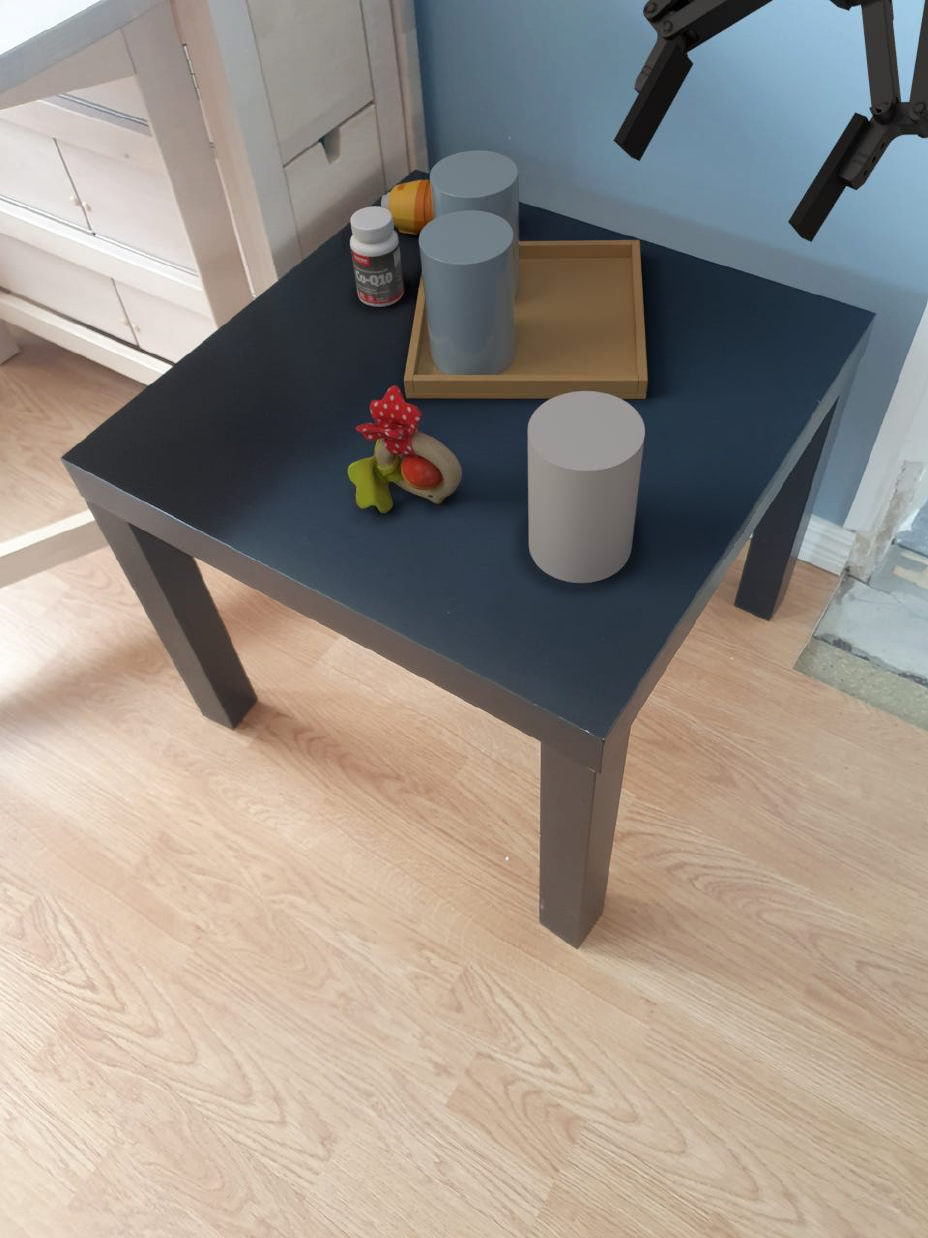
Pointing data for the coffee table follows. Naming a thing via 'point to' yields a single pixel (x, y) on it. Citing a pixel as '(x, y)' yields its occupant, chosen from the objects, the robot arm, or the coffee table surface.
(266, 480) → the coffee table surface
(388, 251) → the pill bottle
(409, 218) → the toy figure
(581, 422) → the light grey cylinder
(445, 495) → the bird rattle
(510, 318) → the slate blue cylinder
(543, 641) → the coffee table surface
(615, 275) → the tray
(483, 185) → the grey-blue cylinder
